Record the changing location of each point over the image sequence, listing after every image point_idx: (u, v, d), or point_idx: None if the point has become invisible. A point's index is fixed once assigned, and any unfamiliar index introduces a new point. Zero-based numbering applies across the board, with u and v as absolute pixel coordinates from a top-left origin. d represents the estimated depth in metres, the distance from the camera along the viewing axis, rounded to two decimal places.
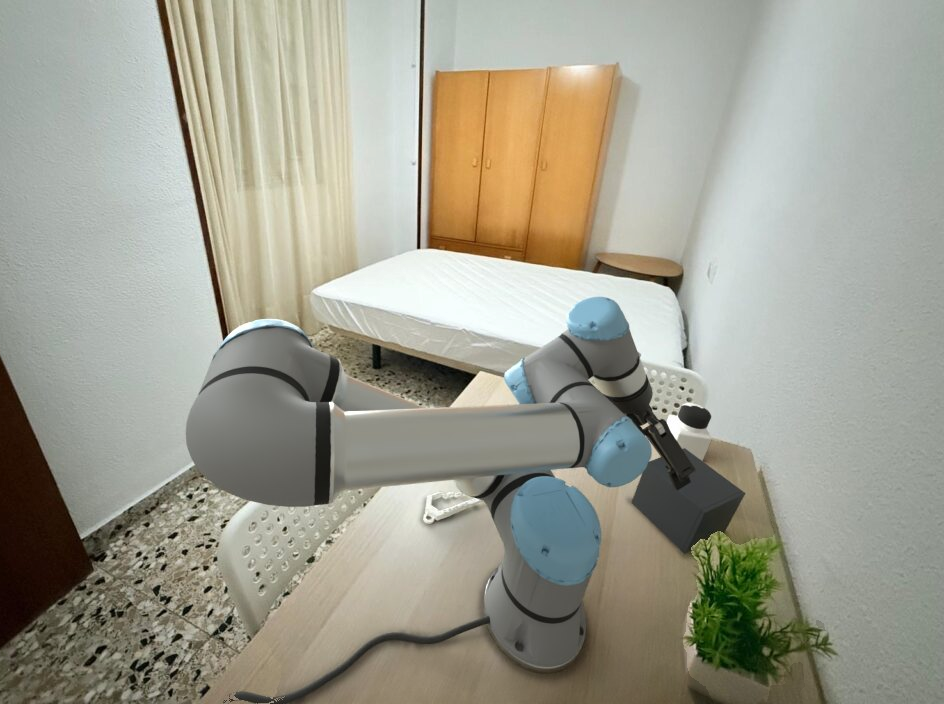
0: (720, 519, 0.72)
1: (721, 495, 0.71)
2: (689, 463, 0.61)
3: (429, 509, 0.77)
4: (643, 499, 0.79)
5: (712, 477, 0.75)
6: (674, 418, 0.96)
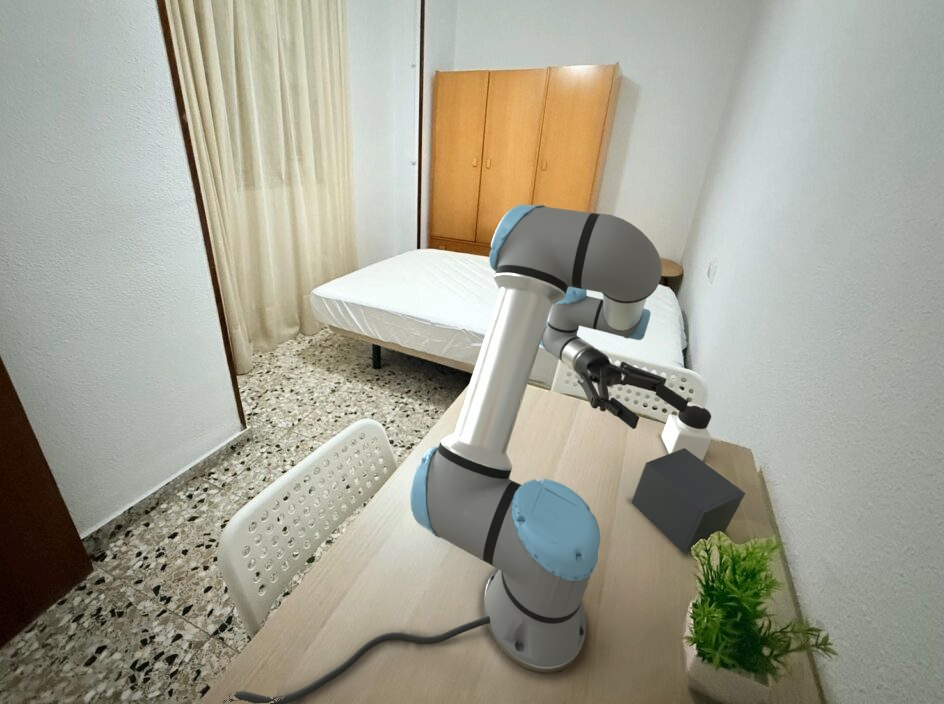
0: (720, 519, 0.72)
1: (721, 495, 0.71)
2: None
3: None
4: (643, 499, 0.79)
5: (712, 477, 0.75)
6: (674, 418, 0.96)
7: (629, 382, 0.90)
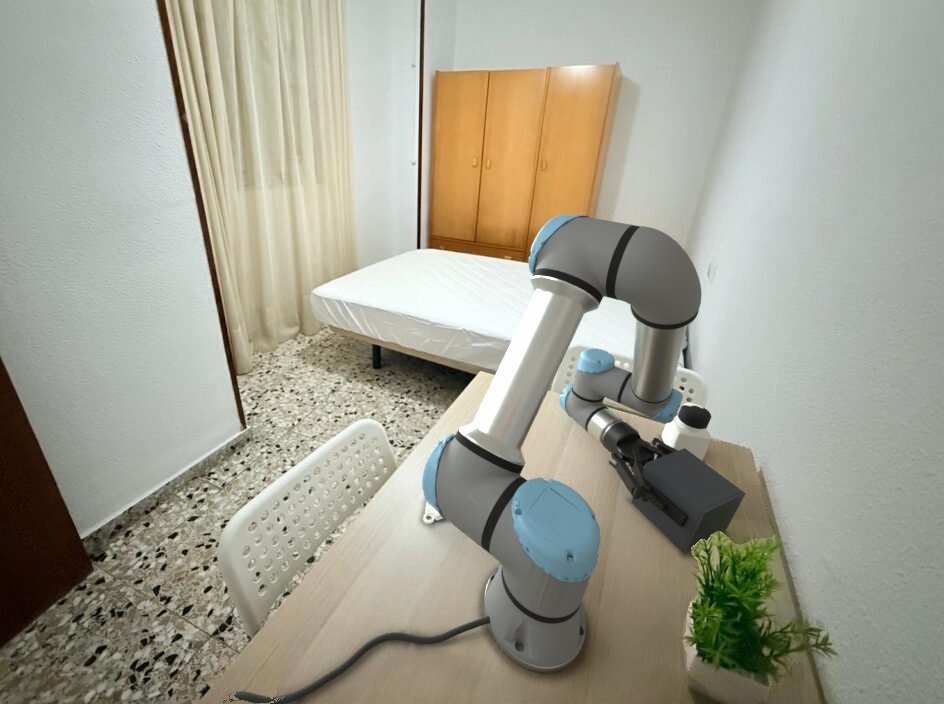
0: (720, 519, 0.72)
1: (721, 495, 0.71)
2: None
3: (429, 509, 0.77)
4: None
5: (712, 477, 0.75)
6: (674, 418, 0.96)
7: None
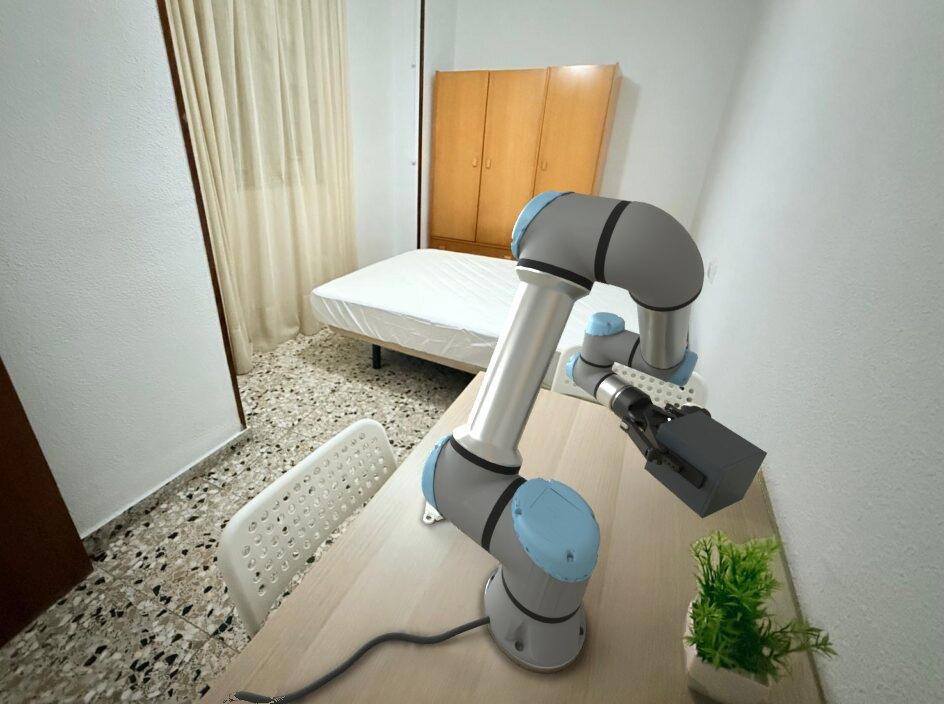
0: (740, 481, 0.68)
1: (742, 455, 0.67)
2: None
3: (429, 509, 0.77)
4: None
5: (731, 438, 0.71)
6: None
7: None
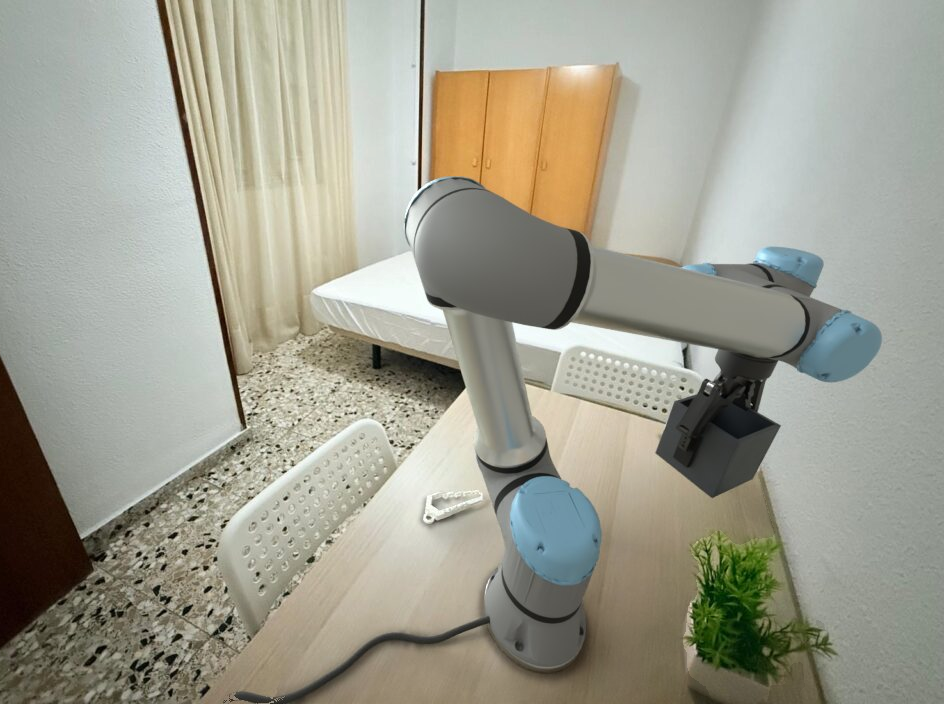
0: None
1: None
2: (692, 428, 0.64)
3: (429, 509, 0.77)
4: None
5: None
6: None
7: None
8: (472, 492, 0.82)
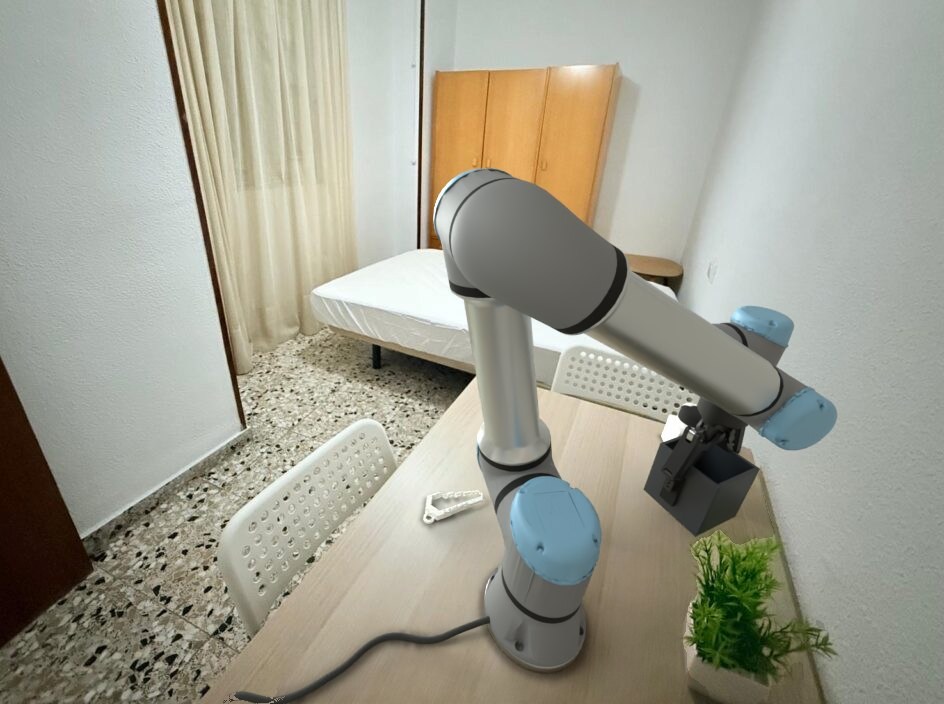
0: None
1: None
2: (675, 472, 0.68)
3: (429, 509, 0.77)
4: None
5: None
6: (674, 418, 0.96)
7: None
8: (472, 492, 0.82)
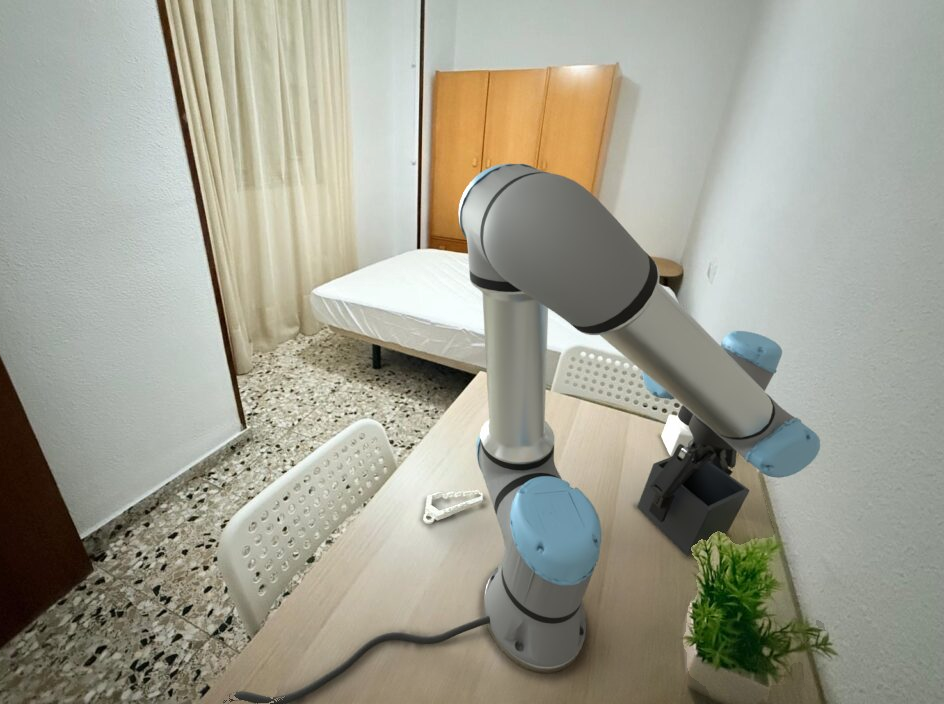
0: None
1: None
2: (665, 489, 0.69)
3: (429, 509, 0.77)
4: None
5: None
6: (674, 418, 0.96)
7: None
8: (472, 492, 0.82)
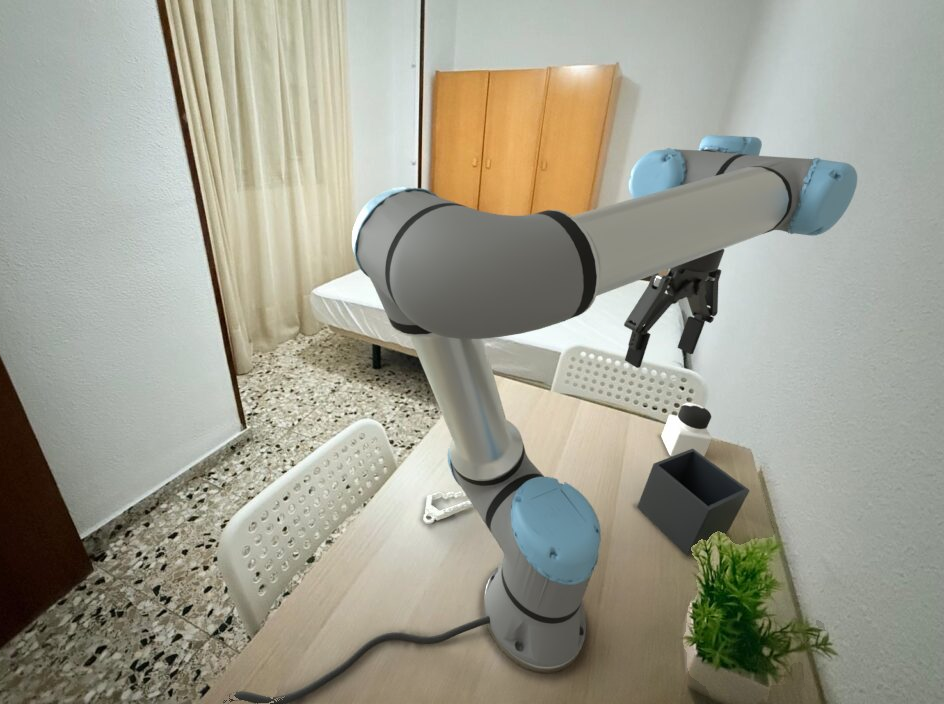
0: None
1: None
2: (639, 321, 0.65)
3: (429, 509, 0.77)
4: None
5: None
6: (674, 418, 0.96)
7: None
8: None
